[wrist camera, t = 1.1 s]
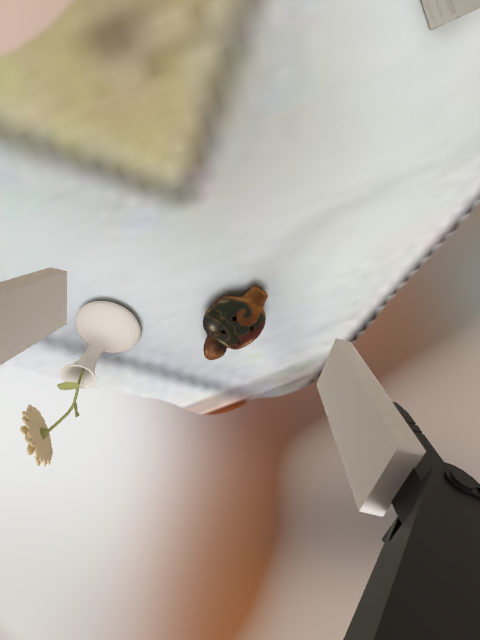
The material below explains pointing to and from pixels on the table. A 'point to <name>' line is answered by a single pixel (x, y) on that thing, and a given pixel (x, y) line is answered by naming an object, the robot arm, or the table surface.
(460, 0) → the supplement box
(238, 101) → the table surface
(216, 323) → the painted clay ocarina
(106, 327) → the flower in vase
